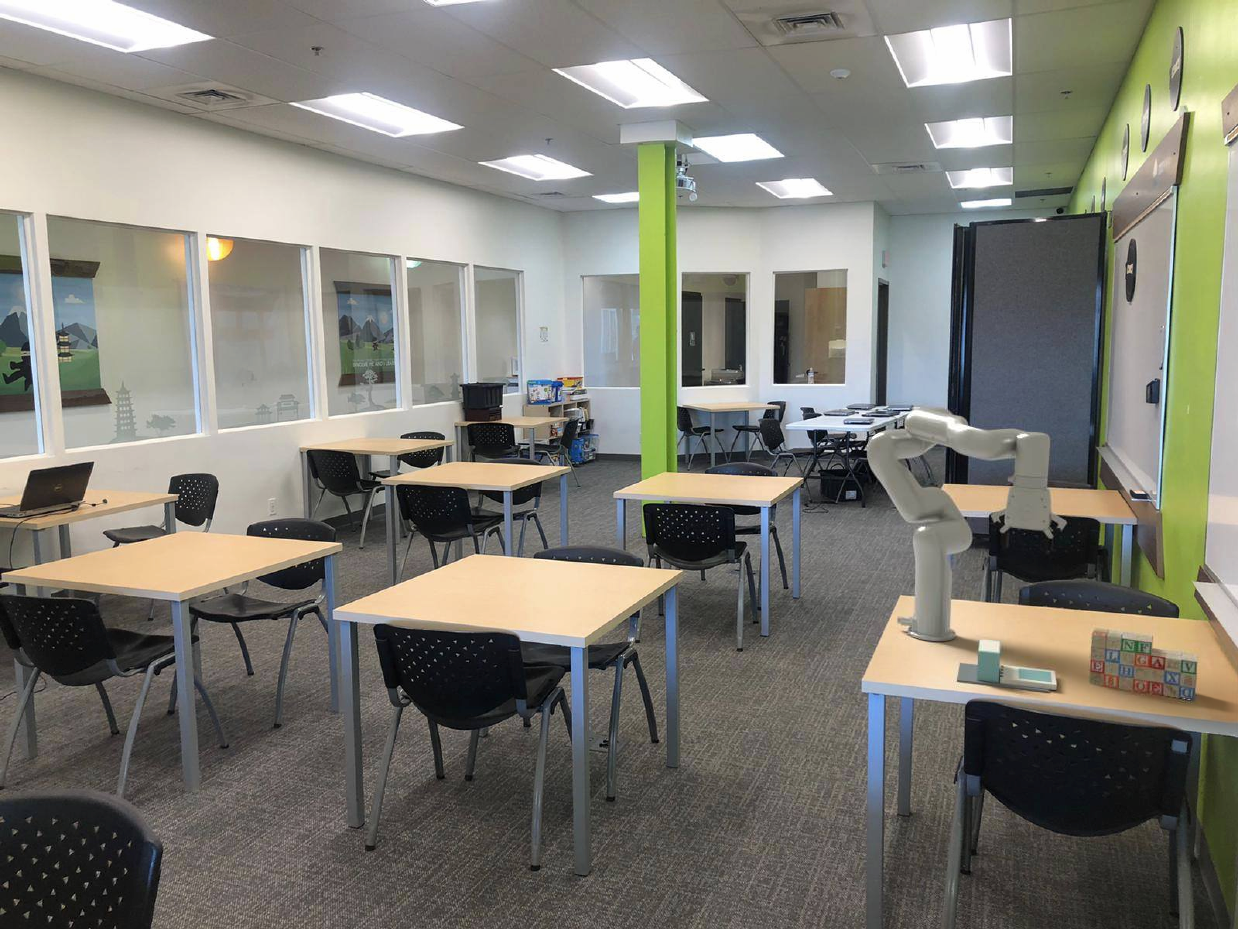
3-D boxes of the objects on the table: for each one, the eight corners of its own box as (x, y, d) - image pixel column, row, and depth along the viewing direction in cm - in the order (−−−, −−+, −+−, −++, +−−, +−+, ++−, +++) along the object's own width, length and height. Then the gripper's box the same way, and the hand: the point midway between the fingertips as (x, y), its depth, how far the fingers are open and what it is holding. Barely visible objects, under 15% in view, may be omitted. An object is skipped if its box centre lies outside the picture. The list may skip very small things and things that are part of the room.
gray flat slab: (956, 681, 221) (957, 674, 221) (959, 664, 233) (960, 657, 233) (1056, 693, 213) (1056, 686, 213) (1054, 675, 225) (1054, 668, 224)
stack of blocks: (1195, 693, 213) (1199, 641, 211) (1194, 702, 208) (1198, 649, 206) (1091, 676, 225) (1094, 626, 223) (1088, 684, 219) (1091, 633, 218)
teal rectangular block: (976, 679, 221) (978, 650, 220) (978, 666, 230) (979, 638, 229) (998, 682, 219) (1000, 653, 218) (999, 669, 228) (1000, 640, 227)
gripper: (989, 481, 230) (986, 548, 233) (1066, 488, 221) (1061, 558, 223) (997, 477, 236) (993, 543, 239) (1071, 483, 227) (1066, 552, 229)
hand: (1026, 550), depth 231 cm, fingers open, 9 cm apart
